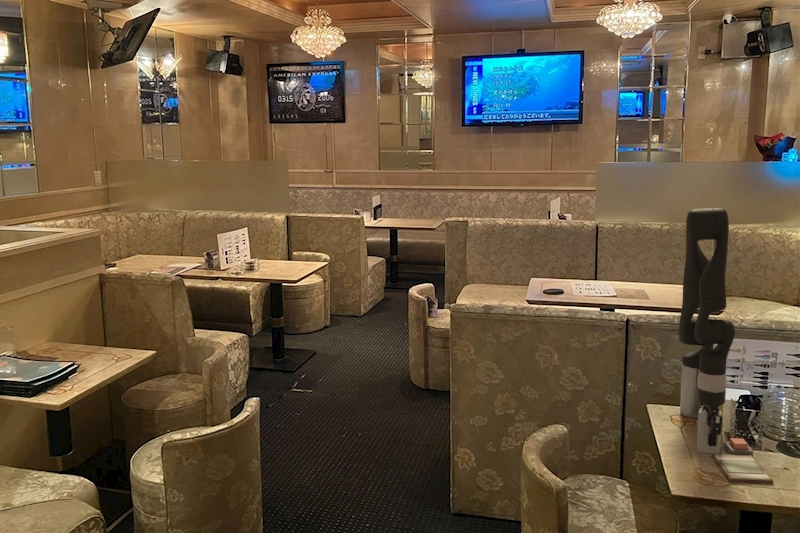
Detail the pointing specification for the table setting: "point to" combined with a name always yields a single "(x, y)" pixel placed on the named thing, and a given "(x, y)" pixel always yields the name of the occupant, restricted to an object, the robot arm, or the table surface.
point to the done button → (738, 443)
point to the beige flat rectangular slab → (741, 468)
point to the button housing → (737, 450)
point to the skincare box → (706, 435)
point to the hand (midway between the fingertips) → (708, 440)
